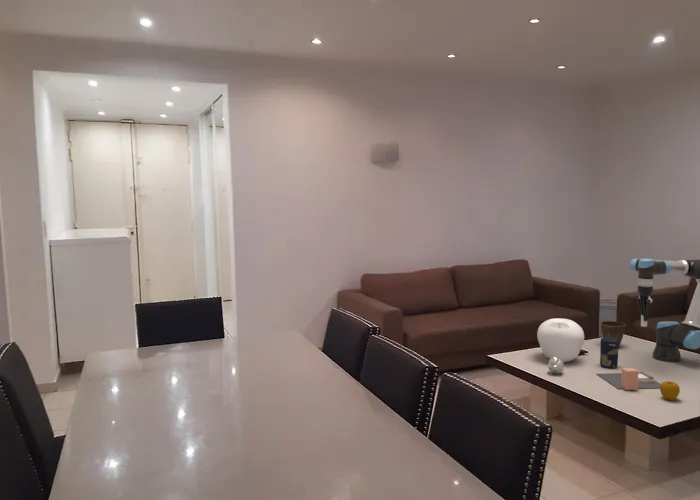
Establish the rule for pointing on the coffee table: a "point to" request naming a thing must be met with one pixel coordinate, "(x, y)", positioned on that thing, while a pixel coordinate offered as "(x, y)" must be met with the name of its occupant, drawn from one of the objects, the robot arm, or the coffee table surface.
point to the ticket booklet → (645, 377)
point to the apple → (669, 390)
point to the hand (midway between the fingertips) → (643, 326)
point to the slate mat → (616, 381)
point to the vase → (560, 338)
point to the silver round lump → (556, 365)
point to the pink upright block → (629, 379)
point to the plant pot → (613, 330)
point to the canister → (609, 352)
